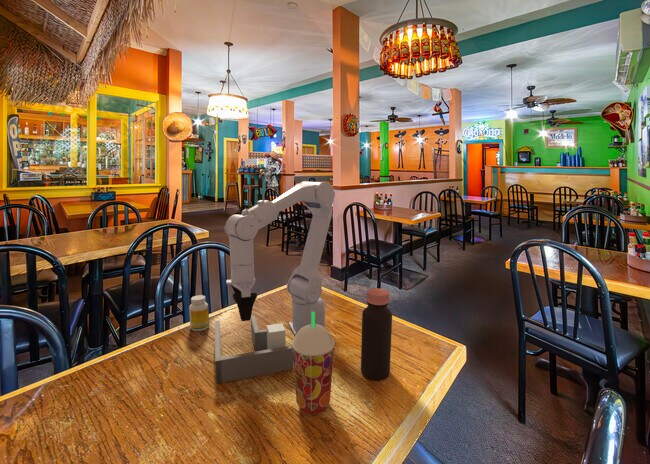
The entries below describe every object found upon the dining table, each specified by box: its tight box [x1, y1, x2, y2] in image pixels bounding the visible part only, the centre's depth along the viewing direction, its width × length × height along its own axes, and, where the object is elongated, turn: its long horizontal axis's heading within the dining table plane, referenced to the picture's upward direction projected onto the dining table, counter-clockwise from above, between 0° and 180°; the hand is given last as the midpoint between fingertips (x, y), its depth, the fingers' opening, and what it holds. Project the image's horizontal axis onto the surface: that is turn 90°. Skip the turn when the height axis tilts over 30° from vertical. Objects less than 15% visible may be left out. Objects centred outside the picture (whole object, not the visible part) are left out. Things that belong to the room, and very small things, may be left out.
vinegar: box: [360, 287, 393, 382], centre depth 75 cm, size 7×7×20 cm
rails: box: [214, 315, 294, 384], centre depth 85 cm, size 18×21×6 cm
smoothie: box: [291, 312, 336, 416], centre depth 65 cm, size 8×8×20 cm
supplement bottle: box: [188, 294, 210, 332], centre depth 98 cm, size 5×5×10 cm
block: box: [266, 322, 287, 350], centre depth 82 cm, size 4×4×8 cm
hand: (244, 314), depth 84 cm, fingers open, 7 cm apart
